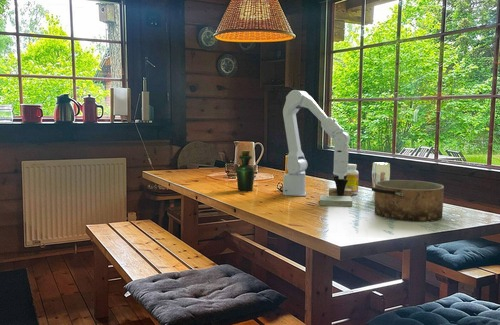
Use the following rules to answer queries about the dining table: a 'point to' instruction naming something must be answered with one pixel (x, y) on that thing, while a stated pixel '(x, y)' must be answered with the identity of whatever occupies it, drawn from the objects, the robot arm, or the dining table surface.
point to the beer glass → (380, 173)
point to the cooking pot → (409, 200)
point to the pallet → (334, 192)
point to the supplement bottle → (352, 179)
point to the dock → (336, 200)
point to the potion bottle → (245, 172)
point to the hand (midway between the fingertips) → (340, 194)
